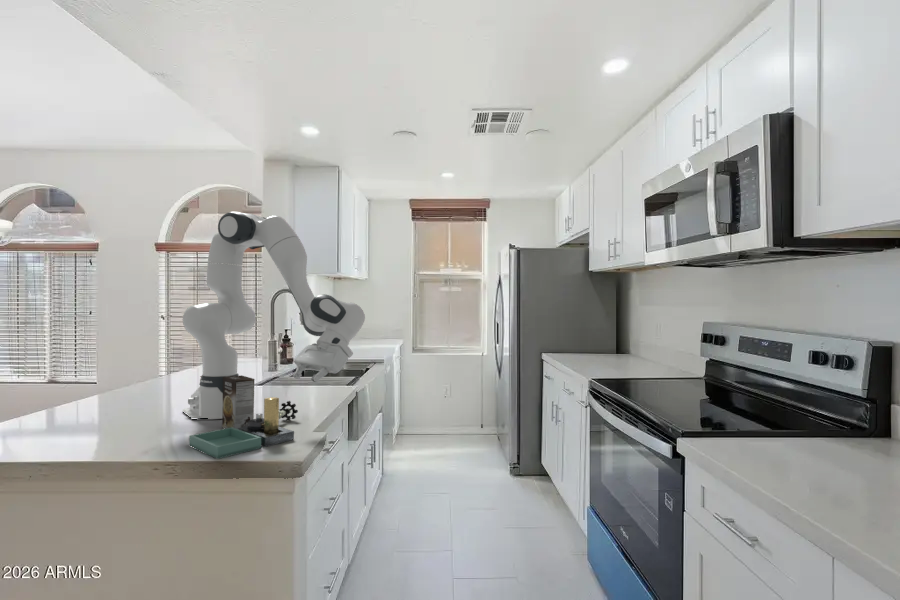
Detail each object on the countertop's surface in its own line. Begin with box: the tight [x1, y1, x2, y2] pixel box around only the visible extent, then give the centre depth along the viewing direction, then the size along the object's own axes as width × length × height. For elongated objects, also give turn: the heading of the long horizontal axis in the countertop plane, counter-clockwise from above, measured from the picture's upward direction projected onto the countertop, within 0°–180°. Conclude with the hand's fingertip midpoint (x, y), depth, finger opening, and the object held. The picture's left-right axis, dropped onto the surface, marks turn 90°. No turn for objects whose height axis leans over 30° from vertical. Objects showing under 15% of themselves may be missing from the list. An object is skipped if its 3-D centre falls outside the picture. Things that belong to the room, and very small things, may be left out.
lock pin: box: [263, 396, 280, 435], centre depth 142 cm, size 4×4×12 cm
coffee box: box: [221, 375, 255, 429], centre depth 154 cm, size 9×6×16 cm
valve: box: [279, 400, 299, 421], centre depth 160 cm, size 7×7×12 cm
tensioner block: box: [238, 413, 295, 448], centre depth 144 cm, size 15×9×6 cm, turn 51°
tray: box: [188, 427, 262, 459], centre depth 135 cm, size 16×12×3 cm
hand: (304, 379), depth 151 cm, fingers open, 8 cm apart
